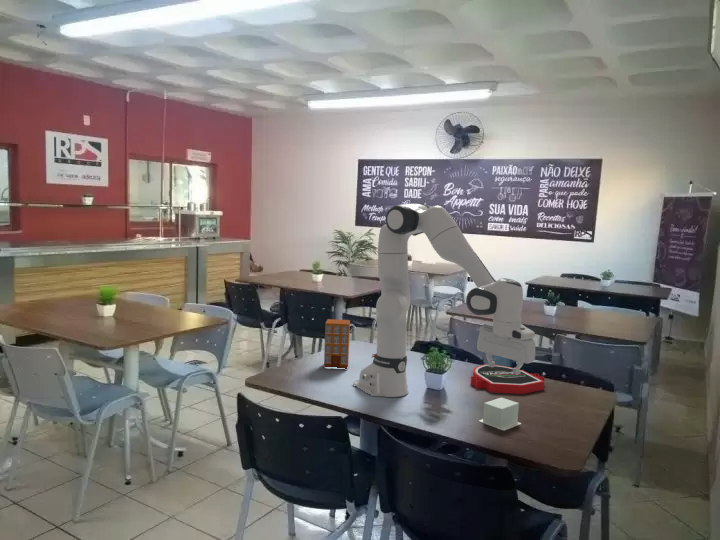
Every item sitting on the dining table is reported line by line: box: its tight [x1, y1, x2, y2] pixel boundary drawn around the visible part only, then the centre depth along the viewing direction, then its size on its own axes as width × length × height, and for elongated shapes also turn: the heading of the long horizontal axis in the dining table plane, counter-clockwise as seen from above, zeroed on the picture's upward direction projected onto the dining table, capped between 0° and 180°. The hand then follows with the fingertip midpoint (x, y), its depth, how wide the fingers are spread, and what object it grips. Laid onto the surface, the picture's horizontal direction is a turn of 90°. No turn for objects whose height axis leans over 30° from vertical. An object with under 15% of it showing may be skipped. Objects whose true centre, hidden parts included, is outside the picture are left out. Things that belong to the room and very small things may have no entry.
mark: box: [478, 418, 522, 432], centre depth 186 cm, size 10×10×1 cm
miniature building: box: [323, 318, 351, 370], centre depth 242 cm, size 10×9×20 cm
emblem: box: [470, 363, 545, 395], centre depth 231 cm, size 30×4×30 cm
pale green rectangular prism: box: [482, 397, 520, 429], centre depth 185 cm, size 7×10×7 cm
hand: (503, 370), depth 184 cm, fingers open, 8 cm apart
